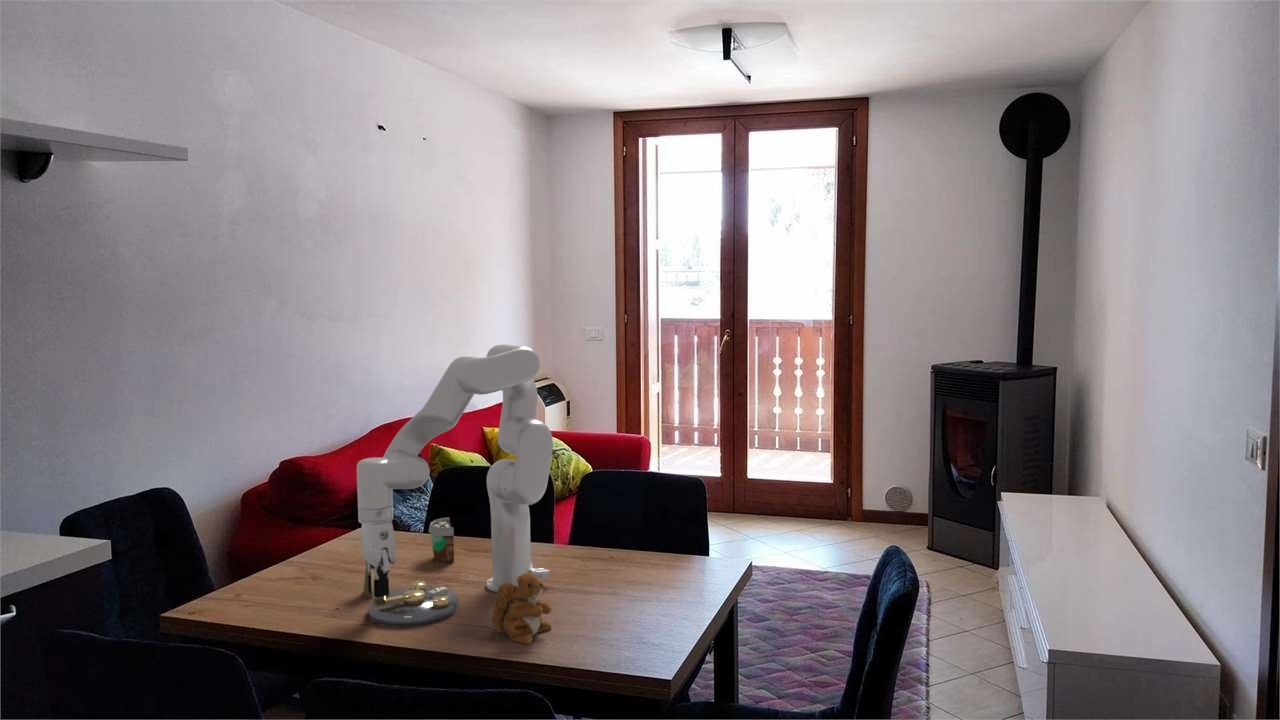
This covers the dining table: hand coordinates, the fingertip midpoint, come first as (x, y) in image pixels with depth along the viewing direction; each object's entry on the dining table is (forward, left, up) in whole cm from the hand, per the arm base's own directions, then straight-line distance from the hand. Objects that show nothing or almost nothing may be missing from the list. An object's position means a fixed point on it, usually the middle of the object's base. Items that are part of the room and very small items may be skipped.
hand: (378, 592), depth 199 cm
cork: (+4, -18, -6) cm, 19 cm away
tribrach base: (-7, -4, -6) cm, 10 cm away
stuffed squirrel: (-31, +13, -6) cm, 35 cm away
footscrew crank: (-4, -2, -4) cm, 6 cm away
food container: (-9, -43, -6) cm, 44 cm away
